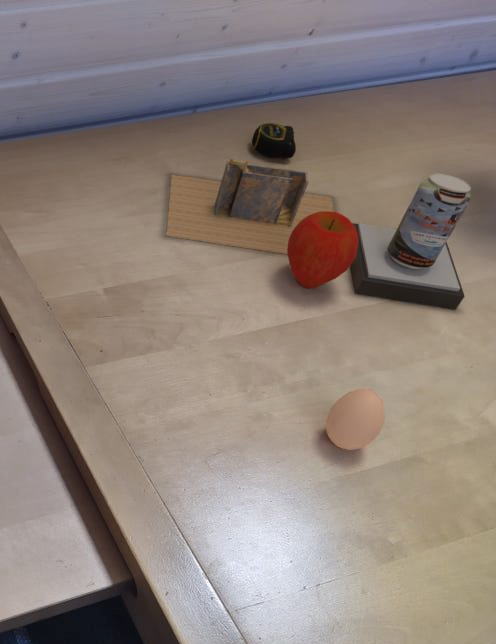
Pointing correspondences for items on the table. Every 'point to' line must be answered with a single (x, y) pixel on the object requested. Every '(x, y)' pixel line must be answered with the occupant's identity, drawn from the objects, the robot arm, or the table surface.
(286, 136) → the tape measure
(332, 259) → the apple
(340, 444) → the egg
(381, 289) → the scale
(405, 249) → the beverage can
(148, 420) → the table surface
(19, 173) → the table surface
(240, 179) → the architectural model on board
